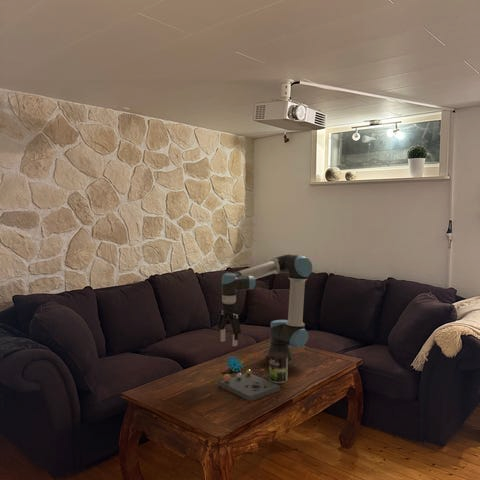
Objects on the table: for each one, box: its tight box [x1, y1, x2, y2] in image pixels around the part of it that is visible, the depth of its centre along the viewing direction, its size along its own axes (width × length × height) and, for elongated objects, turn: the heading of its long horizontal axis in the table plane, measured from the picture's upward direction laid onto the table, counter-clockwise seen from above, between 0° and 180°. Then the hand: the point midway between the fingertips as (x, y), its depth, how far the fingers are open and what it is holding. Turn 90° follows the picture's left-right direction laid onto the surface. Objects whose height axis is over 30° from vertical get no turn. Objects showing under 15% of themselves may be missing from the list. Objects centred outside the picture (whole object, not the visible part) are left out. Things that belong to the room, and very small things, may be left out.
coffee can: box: [268, 351, 289, 384], centre depth 241 cm, size 10×10×14 cm
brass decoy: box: [245, 368, 253, 375], centre depth 241 cm, size 3×3×3 cm
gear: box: [225, 355, 244, 373], centre depth 256 cm, size 11×6×10 cm
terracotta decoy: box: [222, 373, 232, 382], centre depth 231 cm, size 4×4×4 cm
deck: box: [219, 373, 281, 402], centre depth 229 cm, size 24×20×2 cm
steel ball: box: [235, 372, 243, 379], centre depth 235 cm, size 3×3×3 cm
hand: (228, 343), depth 241 cm, fingers open, 10 cm apart
